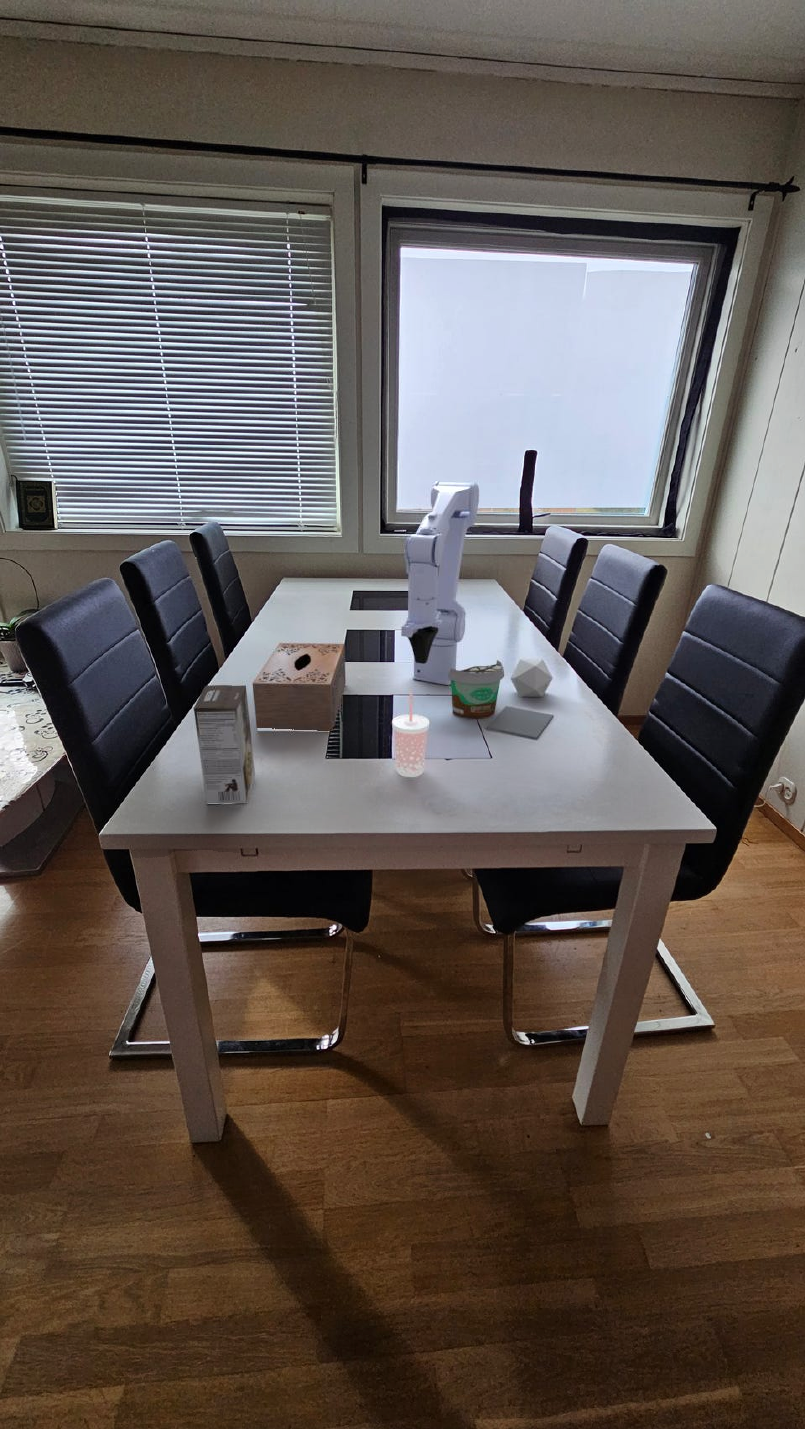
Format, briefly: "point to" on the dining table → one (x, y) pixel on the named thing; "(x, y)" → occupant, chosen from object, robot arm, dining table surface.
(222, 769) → the coffee box
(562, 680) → the dining table surface
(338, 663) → the tissue box cover
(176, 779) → the dining table surface
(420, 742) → the beverage cup
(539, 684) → the die
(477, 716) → the food container
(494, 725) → the mat
